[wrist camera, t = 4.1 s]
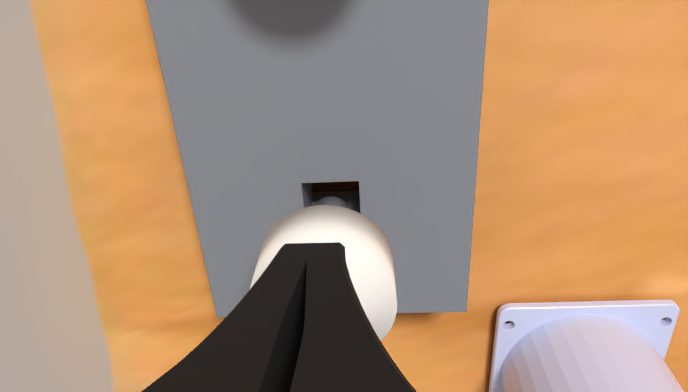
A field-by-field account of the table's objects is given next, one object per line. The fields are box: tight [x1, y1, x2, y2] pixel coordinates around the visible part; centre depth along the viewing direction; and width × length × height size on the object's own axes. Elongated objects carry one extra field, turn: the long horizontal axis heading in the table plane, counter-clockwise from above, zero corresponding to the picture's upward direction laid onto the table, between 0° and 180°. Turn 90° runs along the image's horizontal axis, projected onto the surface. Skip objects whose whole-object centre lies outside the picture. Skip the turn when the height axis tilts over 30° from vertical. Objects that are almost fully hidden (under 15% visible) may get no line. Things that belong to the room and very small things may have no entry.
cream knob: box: [250, 196, 397, 341], centre depth 17 cm, size 4×4×5 cm
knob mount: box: [146, 0, 489, 318], centre depth 18 cm, size 20×10×3 cm, turn 3°
